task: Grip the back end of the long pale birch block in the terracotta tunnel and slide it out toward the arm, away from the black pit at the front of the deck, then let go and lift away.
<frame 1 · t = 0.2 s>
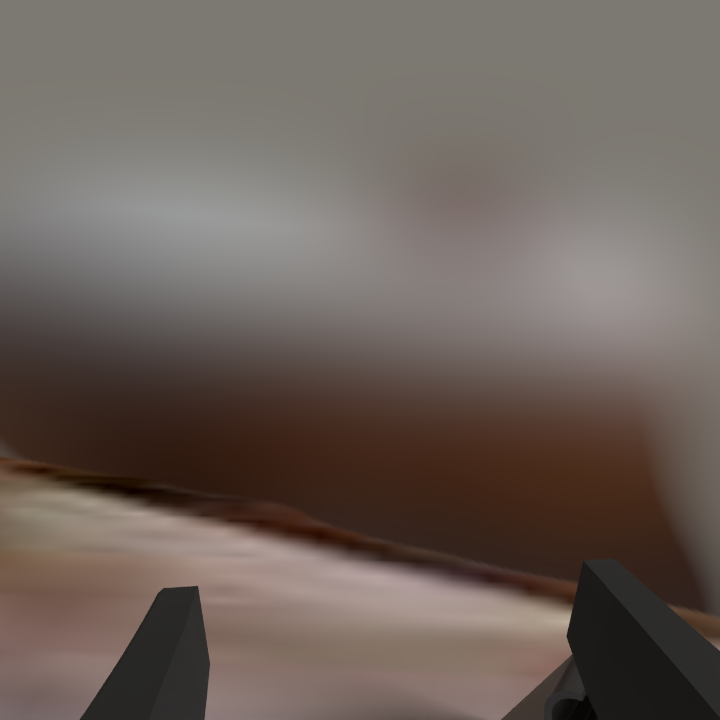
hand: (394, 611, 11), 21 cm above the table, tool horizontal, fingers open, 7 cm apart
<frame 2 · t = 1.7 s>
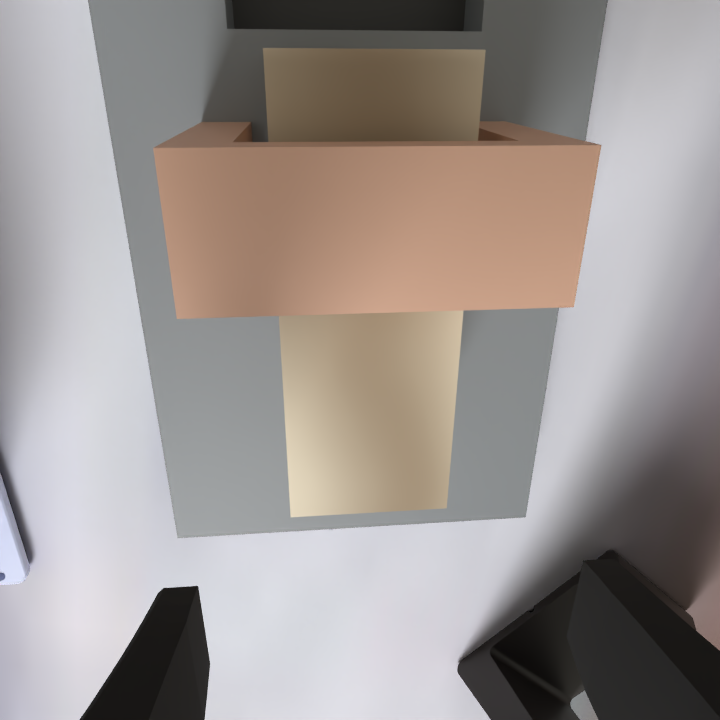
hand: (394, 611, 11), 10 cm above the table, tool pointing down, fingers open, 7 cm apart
phone stand: (569, 633, 27), on the table
block: (356, 267, 17), point 2 cm above the table, touching deck
tunnel: (350, 171, 17), resting on deck
deck: (350, 223, 18), on the table
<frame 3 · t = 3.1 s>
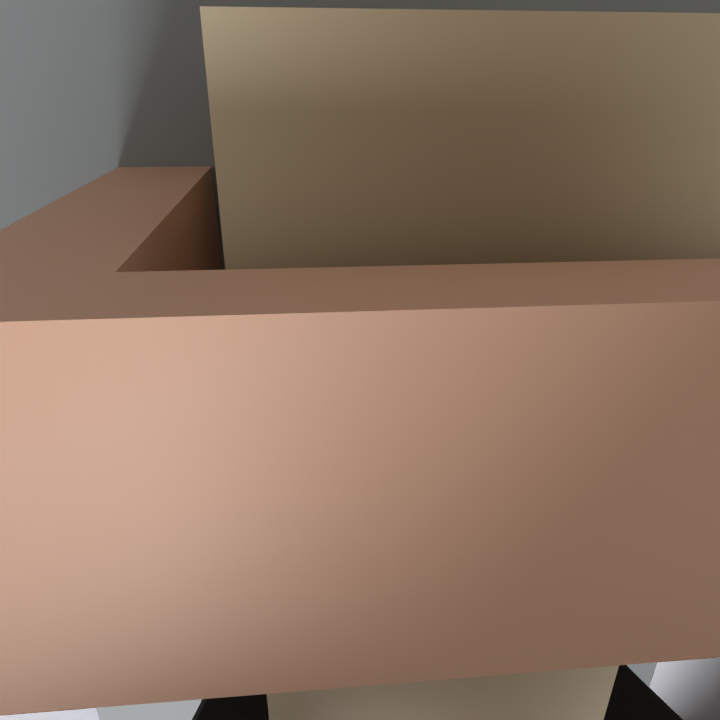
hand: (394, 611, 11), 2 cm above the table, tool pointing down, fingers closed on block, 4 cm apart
block: (397, 404, 10), point 2 cm above the table, touching deck, gripper
tunnel: (385, 237, 11), resting on deck
deck: (383, 316, 11), on the table
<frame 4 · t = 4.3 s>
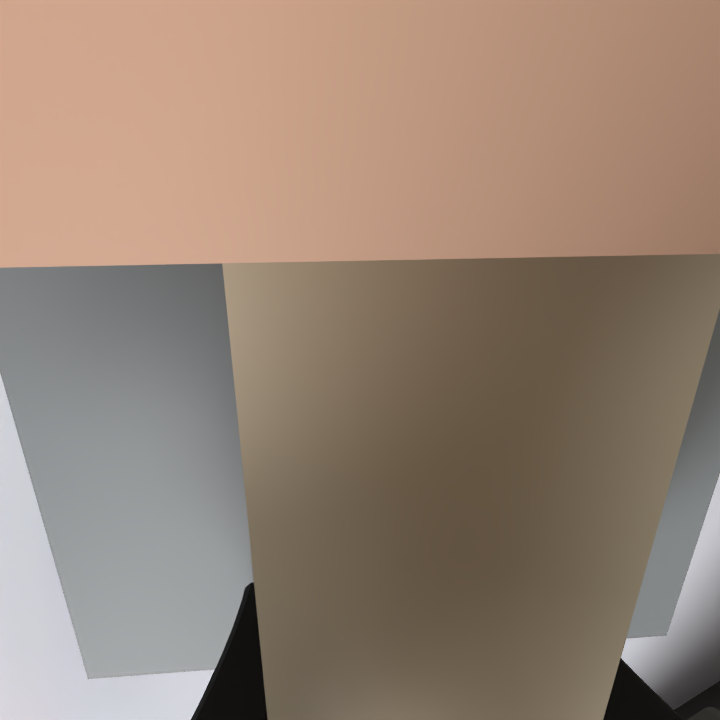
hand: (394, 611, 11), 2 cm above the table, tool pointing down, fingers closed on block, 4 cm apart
block: (398, 387, 10), point 2 cm above the table, touching deck, gripper
tunnel: (392, 24, 9), resting on deck
deck: (389, 129, 10), on the table
when the fingers open (2 cm above the table, at t = 6.0 s): block stays where it is, resting on deck.
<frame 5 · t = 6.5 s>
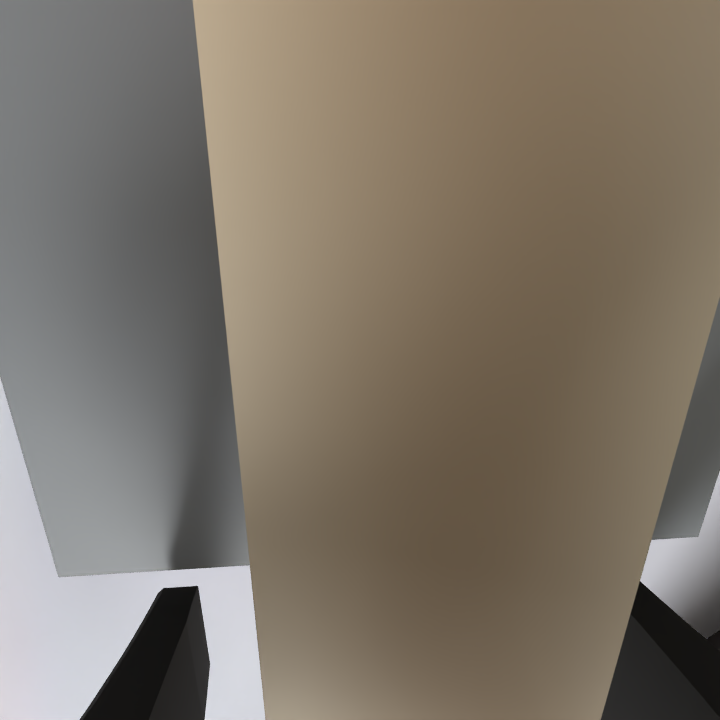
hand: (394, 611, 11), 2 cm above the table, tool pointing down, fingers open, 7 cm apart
block: (396, 375, 9), point 2 cm above the table, touching deck
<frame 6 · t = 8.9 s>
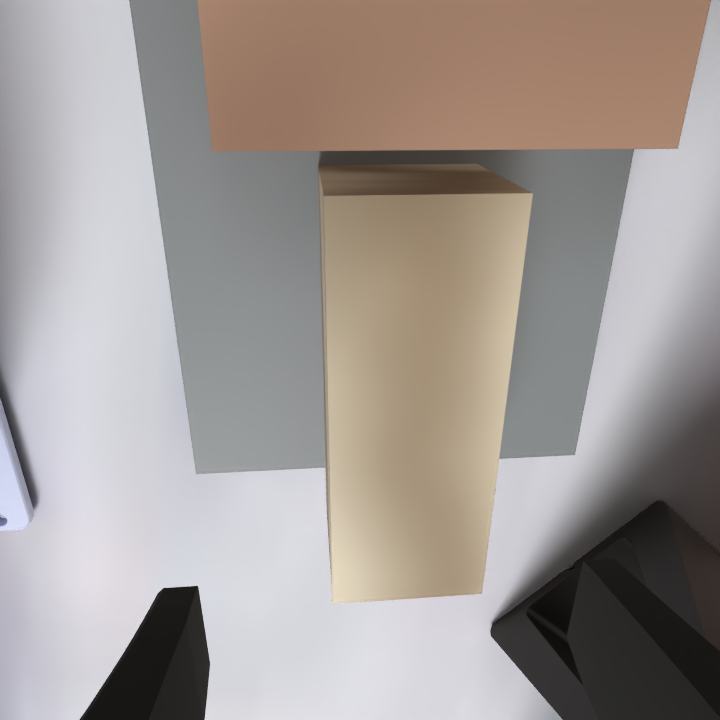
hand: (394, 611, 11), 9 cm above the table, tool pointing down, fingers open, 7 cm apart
phone stand: (609, 594, 26), on the table
block: (392, 355, 17), point 2 cm above the table, touching deck
tunnel: (391, 55, 16), resting on deck
deck: (390, 117, 16), on the table
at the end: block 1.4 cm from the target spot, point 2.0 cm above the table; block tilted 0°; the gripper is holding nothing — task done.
